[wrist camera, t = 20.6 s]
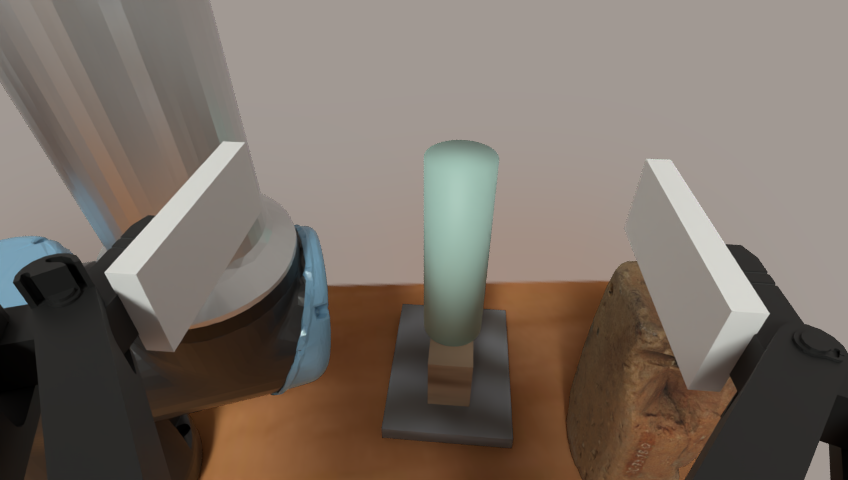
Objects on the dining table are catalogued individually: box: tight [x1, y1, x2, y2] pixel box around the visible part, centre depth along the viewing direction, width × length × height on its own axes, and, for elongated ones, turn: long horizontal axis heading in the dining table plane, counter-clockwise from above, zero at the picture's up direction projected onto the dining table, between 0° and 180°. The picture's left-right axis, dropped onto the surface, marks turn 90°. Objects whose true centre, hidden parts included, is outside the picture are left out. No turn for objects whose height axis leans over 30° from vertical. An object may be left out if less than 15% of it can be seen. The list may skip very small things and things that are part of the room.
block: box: [567, 261, 737, 480], centre depth 38 cm, size 11×8×20 cm
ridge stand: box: [382, 304, 513, 448], centre depth 49 cm, size 16×12×8 cm
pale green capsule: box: [424, 140, 499, 347], centre depth 41 cm, size 6×6×18 cm
